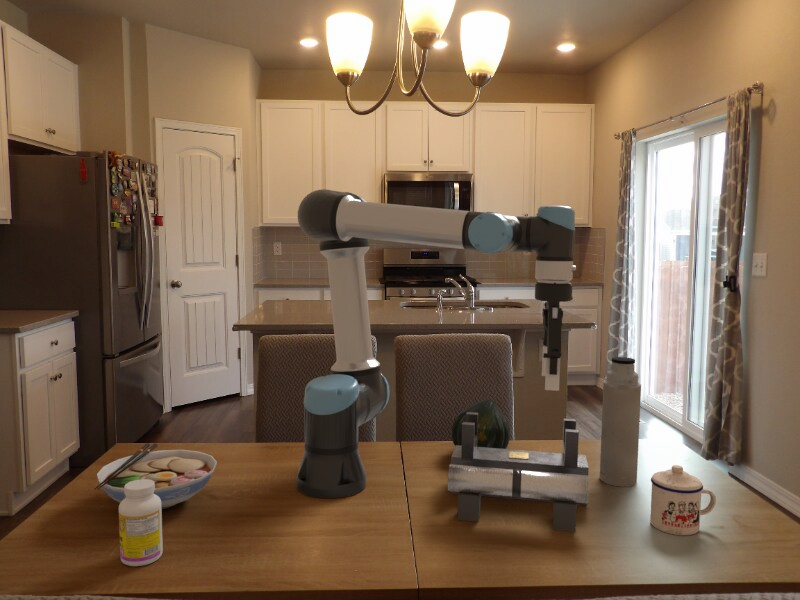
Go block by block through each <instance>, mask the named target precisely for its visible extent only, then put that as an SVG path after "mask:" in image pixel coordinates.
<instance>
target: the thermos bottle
mask: <svg viewBox="0 0 800 600" xmlns="http://www.w3.org/2000/svg"><path fill="white" fill-rule="evenodd" d="M635 363H636V359H635V358H632V357H626V356H615V357H612V358H611V365H610V366H611V369H610V370H608V371H607V372H606V376H605V377H606V380H604V381H603V385H602V387H603V388H602V408H601V430H600V433H601V435H600V437H601V439H600V459H599V461H600V462H599V479H600V481H602V482H603V483H604V484H607V485H610V486H615V487H621V488H622V487H627V488H628V487H633V486H636V484H637V481H638V463H639V438H640V416H641V396H642V384H641V383H640V382H639V378H640V377H639V373H637V372H636V371H635Z"/></svg>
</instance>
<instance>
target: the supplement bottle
mask: <svg viewBox="0 0 800 600" xmlns="http://www.w3.org/2000/svg"><path fill="white" fill-rule="evenodd" d="M154 490H155V483H154V481H153V480H149V479H140V480H134V481H131V482H129V483H127V484H126V485H125V486H124V493H125V495H126V498H125V499H123V500H122V501H121V503H120V502H119V505H118V528H119V529H118V531H119V532H118V533H119V557H120V561H121V563H122V564H124V565H126V566H129V567H139V566H140V567H142V566H147V565H151V564H152V563H155V562H156V561H158V560H159V559H160V558H161V557H162V555H163V553H164V552H163V551H164V548H163V547H164V546H163V517H162V516H163V514H162V511H163V509H162V507H161V499H160V498H159V497H158V496H157V495H155V494H154Z"/></svg>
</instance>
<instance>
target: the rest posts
mask: <svg viewBox="0 0 800 600" xmlns="http://www.w3.org/2000/svg"><path fill="white" fill-rule="evenodd" d="M481 499H482V496H481V494H478V493H467V492H459V493H458V494H457V520H459V521H467V522H468V521H469V522H477V521H480V516H481V502H482V501H481ZM552 506H553V509H552V512H553V513H552V524H553V525H552V526H553V527H552V529H553V530H560V531H566V532H567V531H568V532H576V530H577V529H576V528H577V507H578V505H576V502H566V501H555V500H554V503H552Z"/></svg>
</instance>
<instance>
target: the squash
mask: <svg viewBox="0 0 800 600" xmlns="http://www.w3.org/2000/svg"><path fill="white" fill-rule="evenodd" d="M467 412H476V413H478V444H477V447H485V448H499V449H508V446H509V443H510V440H511V429H510V425H509V422H508V420H507V418H506V416H505V415H504V413H503V412H502V411H501V409H500V408H499V407H498V405H497V403H496V402H495V400H494V398H487V399H482V400H480V401H478V402H476V403H474V404H471V405H470V406H468V407H467V408H464V410H461V412H460V413H458V414H457V416H456V418H455V419H454V422H453V424H452V427H451V440H452V443H453V445H454V447H455V446H456V445H459V446H462V423H463V422H466V413H467Z"/></svg>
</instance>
